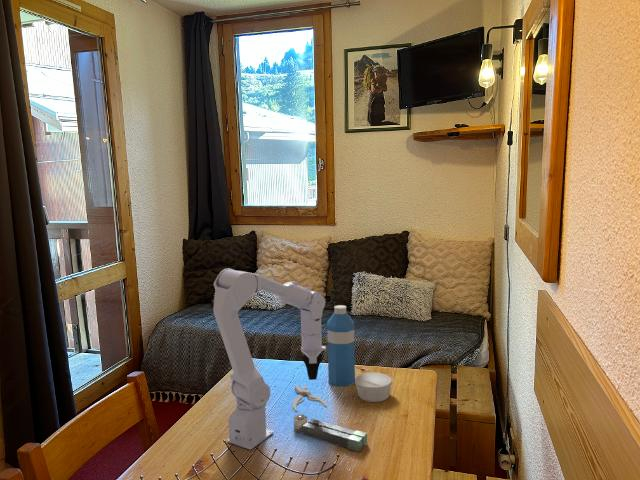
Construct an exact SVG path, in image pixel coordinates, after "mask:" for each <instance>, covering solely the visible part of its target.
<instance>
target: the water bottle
mask: <svg viewBox="0 0 640 480" xmlns="http://www.w3.org/2000/svg"><path fill="white" fill-rule="evenodd" d="M333 309H334V311H333V312H332V315H331V317H330V318H329V319H328V321H327V323H326V326H327V331H326V333H327V363H328V364H327V367H328V368H327V369H328V371H327V375H328V377H327V378H328V384H330V385H333V386H334V387H349V386H351V385H353V384H355V379H356V368H355V367H356V361H355V360H356V359H355V358H356V357H355V356H356V354H355V321H354V320H353V319H352V318H351V316H350V315H349V314H348V312H347V306H346V305H342V304H341V305H340V304H339V305H334V308H333Z"/></svg>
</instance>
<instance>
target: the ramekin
mask: <svg viewBox="0 0 640 480" xmlns="http://www.w3.org/2000/svg"><path fill="white" fill-rule="evenodd" d="M354 384H355V385H356V390H357V394H358V397H359V398H360V399H361V400H363V401H365V402H370V403H379V402H384V401H385V400H387V399H388V398H389V397H390V394H391V390H392V389H391V388H392V384H393V379H392V377H390V375H388V374H385V373H382V372H366V373H361V374H359V375H357V376H355V383H354Z"/></svg>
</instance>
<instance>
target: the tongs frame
mask: <svg viewBox="0 0 640 480" xmlns="http://www.w3.org/2000/svg"><path fill="white" fill-rule="evenodd" d="M293 431H294V432H295V433H296V434H297V433H298V434H303V435H304V436H307V437H311V438H314V439H318V440H321V441H324V442H327V443H331V444H332V445H333V444H334V445H337V446H341V447H344V448H346V449H348V450H352V451H354V452H358V453H359V452H360V451H361V450H362V449H363V448H364V447H363V439H362V437H358V436H355V435H348V434H345V433H342V432H338V431H335V430H331V429H328V428H324V427H321V426H317V425H314V424H310V423H308V416H306V415H304V414H302V413H299V414H296V415H294V417H293Z"/></svg>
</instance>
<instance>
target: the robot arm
mask: <svg viewBox="0 0 640 480" xmlns="http://www.w3.org/2000/svg"><path fill="white" fill-rule="evenodd" d="M298 284H299V283H298V282H297V281H294V280H292V281H286V282H284V283H281V282H279V281H276V280H274V279H272V278H269V277H267V276H264V275H262V274H257V273H254V272H253V273H252V272H247V271H243V270H235V269H233V268H231V267H230V268H229V267H228V268H224V269H222V270H221V271H220V272H219V274H218V275H217V276H216V278H215V280H214V282H213V287H214V289H215V290H214V291H215V292H214V299H213V300H214V301H213V307H212V308H213V315H214V319H215V321H216V324H217V327H218V330H219V333H220V336H221V338H222V341H223V344H224V349H225V351H226V353H227V356H228V360H229V363H230V365H231V369H232V373H231V375H230V376H229V378H230V381H231V385H230V391H231V393H232V395H233V396H234V397H235V401H236V407H235V409H234V410H233V412H232V413H231V414H230V415H229V417H228V437H229V438H227V439H226V441H227V443H230V444H232V445H235V446H238V447H241V448H243V449H248V450H253V449H254V448H255V447H256V446H258V445H259V444H260V443H262V442H263V441H265V440H266V439H267V438H269V437H270V436H272V435H273V434H274V430H272V429H268V428H267V415H266V414H267V413H266V406H267V403H268V402H269V400H270V396H271V388H270V386H269V384H268V383H266V382H265V380H264V377H263V376H262V374H261V373H260V372H259V370H258V369H257V368H256V367H255V364H254V360H253V357H252V355H251V354H252V353H251V352H250V348H249V345H248V341H247V338H246V336H245V332H244V329H243V326H242V322H241V320H240V317H239V312H240V310H241V309H242V308H243V307H244V305H246V303H247V302H248V301H249V300H250V299H252V297H253V295H255V293H256V294H257V293H258V294H259V292H260V291H263V292H267V293H269V294H273V295H276V296H278V297H279V300H280V301H281V302H282V303H284V304H287V305H290V306H293V307H295V308H297V309H298V310H300V327H301V328H300V329H301V331H300V333H301V334H300V335H301V347H300V351H301V356H302V357H301V359H302V361H303V363H304V365H305V368H306V373H307V376H308V377H307V378H308V380H309V381H312V380H313V381H315V380H317V378H318V372H319V367H320V364H321V362H322V360H323V354H322V352H323V351H325V352H326V351H327V346H326V345H322V344H323V343H322V341H323V340H322V339H323V337H322V336H323V335H322V334H323V333H322V317H323V311H324V309H325V306H326V300H325V299H324V296H323V295H322V293H320V292H318V291H313V290H311V288H310V287H309V286H304V287H303V286H301V285H298Z"/></svg>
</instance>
